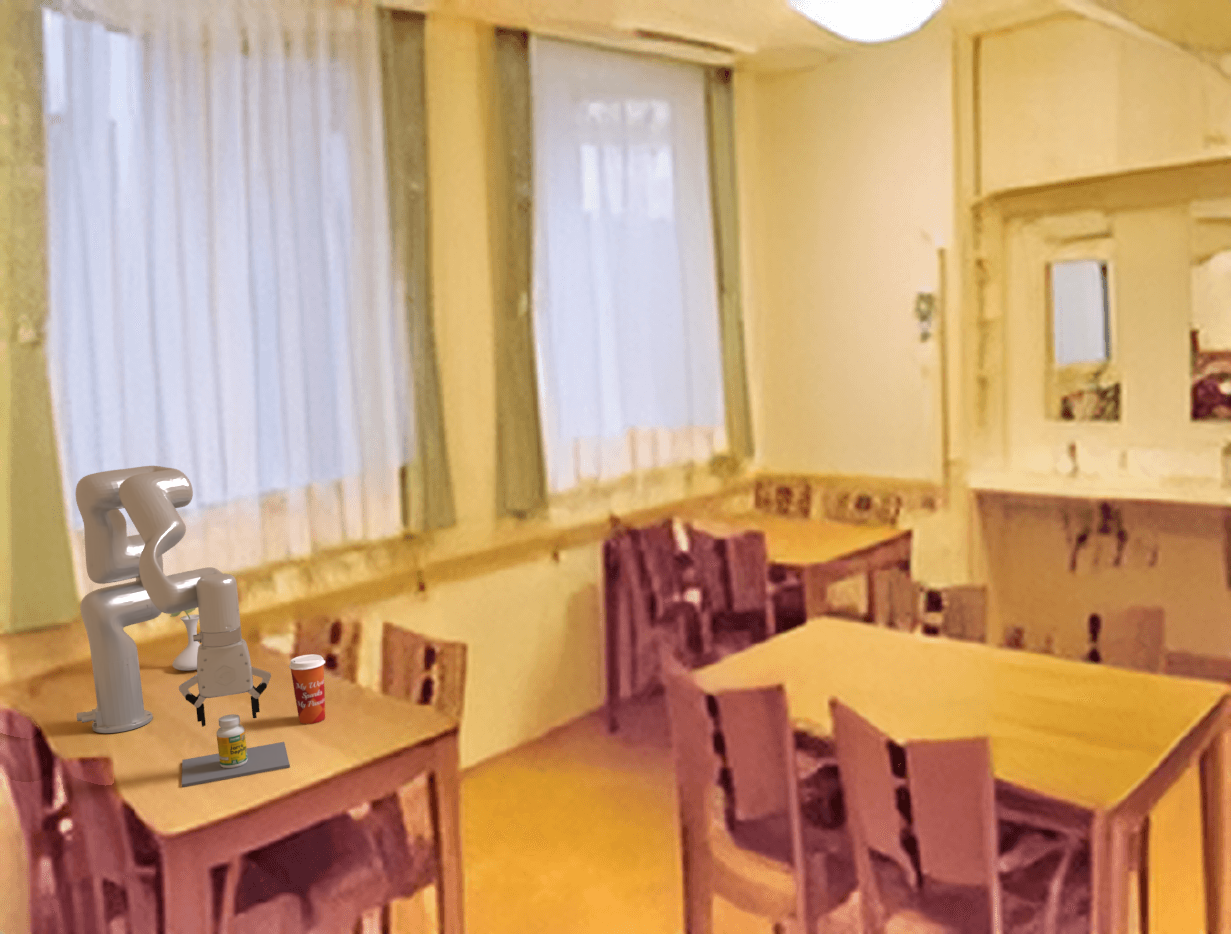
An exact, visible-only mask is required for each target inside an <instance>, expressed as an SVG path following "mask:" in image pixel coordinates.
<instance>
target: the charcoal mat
mask: <svg viewBox="0 0 1231 934" xmlns="http://www.w3.org/2000/svg"><path fill="white" fill-rule="evenodd" d="M247 756H248V760H247V762H246V763H245V764H244V765H242V766H239V767H235V768H223V767H221V765H220V760H219V752H218V753H212V754H207V755H203V756H202V755H201V756H196V757H195V756H194V757H190V758H185V759H182V761H181V764H182V765H181V788H188V787H192V786H196V785H204V784H208V783H212V782H213V783H214V782H219V781H225V780H228V779H229V780H230V779H234V778H240V777H245V776H252V775H256V774H261V773H268V772H273V771H279V770H283V769H288V768H291V766H290V760H289V757H288V756H289V755H288V752H287V747H286V743H285V741H282V742H276V743H269V744H264V745H263V744H262V745H258V746H253V747H247Z"/></svg>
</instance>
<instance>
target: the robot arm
mask: <svg viewBox="0 0 1231 934" xmlns="http://www.w3.org/2000/svg"><path fill="white" fill-rule="evenodd" d="M75 487H76V488H75V503H76V505H77V508H78V511H79V514H80V516H81V518H82V522H83V529H84V534H83V535H84V550H85V551H84V552H85V568H86V571H87V573H86V574H87V576H88V578H89V579H90V581H91V582H93V583H95V584H100V585H105V584H112V583H117V582H122V581H125V580H126V581H127V580H131V579H135V581H130V582H125V583H120V584H119V583H118V584H114V585H110V586H105V587H102V588H98V589H95V590H92V591H90V592H88V593H87V594H85V596H84V597H83V598H82V600H81V602H80V607H79V609H80V615H81V619H82V622H83V624H84V628H85V631H86V635H87V639H88V644H89V652H90V658H91V664H92V665H91V666H92V673H93V681H94V691H95V697H96V707H95V708H92V709H91V710H89V711H81V712H76V721H77V722H81V723H89V722H92V724H91V727H92V731H94V732H96V733H98V734H99V733H100V734H115V733H123V732H129V731H131V730H135V729H138V728H141V727H143V726H145V725H147V724H149V723H150V722H152V720H153V718H154V717H153V713H152V711H150V710H147V709H145V703H144V697H143V689H142V679H141V671H140V670H141V668H140V662H139V653H138V652H139V651H138V646H137V644H136V642H135V640H134V638H133V637H131V636H130V635H129V634H128V633H126V631H125V630H124V628H126V627H130V626H133V625H135V624H140V623H144V622H149V621H152V620H155V619H156V618H158V617H159V616H160V615H161V614H162V613H163V614H173V613H177V612H181V611H182V612H185V610H189V609H194V608H196V609H198V615H199V620H198V622H199V628H200V629H199V632H198V633H197V635H193V641H194V642H195V641H198V642H199V643H200V644H201V645H199V647H198V653H197V670H196V675H195V674H194V675H193V676H192V677H191V678H189V679H188V680H186V681H184V682H182V683H181V684H180V685H179V686H178V690H179V692H180V694H182V696H183V697H184V699H185V701H187V702H188V703H190V704H191V705H193V706H194V707H195V709H196V719H197V723H199V722H200V723H201V727H202V728H203V727H205V726H206V716H205V715H206V712H205V703H204V702H205V700H206V699H213V698H219V697H225V696H226V697H228V696H233V695H239V694H245V693H248V694H249V695H250V703H251V704H250V706H251V714H252V718H253V719H257V718H258V717H257V714H258V713H260V712H261V711H260V700H259V698H260V697H261V695H262V694H263V693H264V691H265V690H266V689H267V687H268V685H269V683H270V680H271V678H272V674H271V672H269V671H267V670H263V669H260V668H257V667H254V666H252V663H251V657H250V656H251V655H250V651H249V648H248V644H247V641H246V639H244V638H242V636H243V635H242V626H241V616H240V615H241V614H240V605H239V594H238V584H237V579H236V577H235V576H234V575H232V574H230V573H223V572H222V571H221V570H219V569H218V568H215V567H202V568H197V569H193V570H187V571H182V572H178V573H174V574H169V575H166V574H165V573H164V560H163V559H164V558H163V555H164V554H165V553H166V552H168V551H169V550H171V549H172V548H174V547H175V546H176V545H178V543H180V542H181V540H182V539H183V538H184V537H185V535H186V531H187V527H186V524H185V522H184V521H183V519H182V517H181V515H180V514H179V512H178V511H177V509H179V508H184V507H186V506H188V505H189V504H190V503H191V502H192V499H193V495H194V490H193V486H192V483H191V481H190V479H189V477H188V476H187V475H186V473H184V472H183V471H181V470H179V469H177V468H172V467H166V466H160V465H145V466H143V465H142V466H136V467H129V468H120V469H111V470H104V471H100V472H94V473H90V474H87V475H84V476H82V477H81V478H80V480H79V481H78V483H77V484H76V486H75ZM120 509H124V510H125V512H126V513H127V515H128V516H129V519H130V520H131V522H132V523H133V525H134V527H135V528H136V530H137V533H138V534H133V535H129V536H128V533H127V529H128V527H127V520H126V517H125V515H124V514H123V513H122V511H120ZM182 612H181V613H182ZM253 676H256V677H259V678H261V682H260V683H259V684H258V685H257V686H256V685H254V679H253ZM196 684H197V686H198V687H197V688H198V694H197V695H194V693H191V692H190V690H189V689H190V688H192V687H194V686H195V685H196Z"/></svg>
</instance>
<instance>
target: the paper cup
mask: <svg viewBox="0 0 1231 934" xmlns="http://www.w3.org/2000/svg"><path fill="white" fill-rule="evenodd" d="M324 664H326V660H324V657H322V655H320V654H313V653H312V654H303V655H299V656H296V657H294V658H291V659H290V663H289V666H288V667H289V670H290V673H291V680H292V685H293V692H294V698H295V704H296V710H297V715H298V721H299V724H302V725H313V724H318V723H320V722H322V721H325V720H326V694H325V693H326V691H325V671H324V670H325V669H324Z"/></svg>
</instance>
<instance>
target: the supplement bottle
mask: <svg viewBox="0 0 1231 934" xmlns="http://www.w3.org/2000/svg"><path fill="white" fill-rule="evenodd" d="M240 723H241V718H240V715H239V714H237V713H236V714H233V713H232V714H226V715H223V716H221V717H219V718H218V726H219V728H218V729H217V731H216V742H217V751H218V753H219V760H220V765H221V767H223V768H235V767H239V766H242V765H244V764H245V763H246V762H247V760H248V756H247V748H248V747H247V740H246V731H245V730H246V729H245V727H244V726H243V725H242V724H240Z"/></svg>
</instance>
